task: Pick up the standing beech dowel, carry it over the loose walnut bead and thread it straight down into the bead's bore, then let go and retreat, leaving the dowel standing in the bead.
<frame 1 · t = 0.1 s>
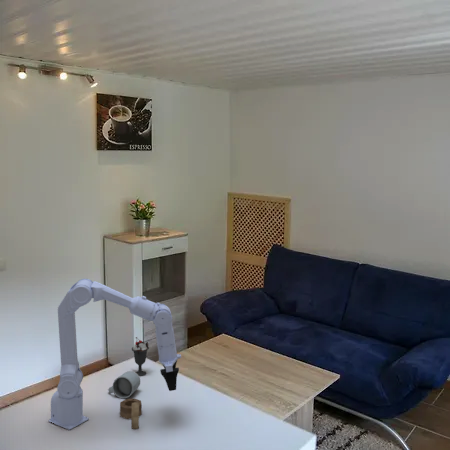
hand: (172, 384, 153), 10 cm above the table, tool pointing down, fingers open, 7 cm apart
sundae: (139, 374, 188), on the table
bead: (130, 413, 155), on the table
dowel: (135, 427, 146), on the table
ceramic mug: (123, 394, 170), on the table
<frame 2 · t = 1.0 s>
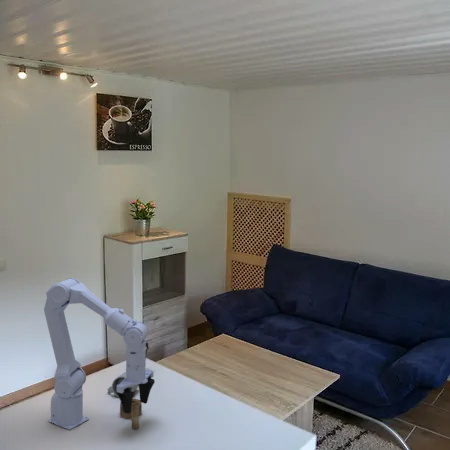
hand: (135, 407, 146), 6 cm above the table, tool pointing down, fingers open, 7 cm apart
nothing on the table moved.
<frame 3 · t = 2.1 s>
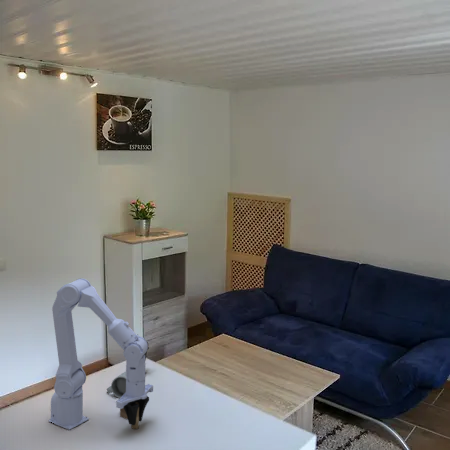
hand: (135, 422, 146), 2 cm above the table, tool pointing down, fingers closed on dowel, 2 cm apart
dowel: (135, 427, 146), on the table, touching gripper
everything else where it was.
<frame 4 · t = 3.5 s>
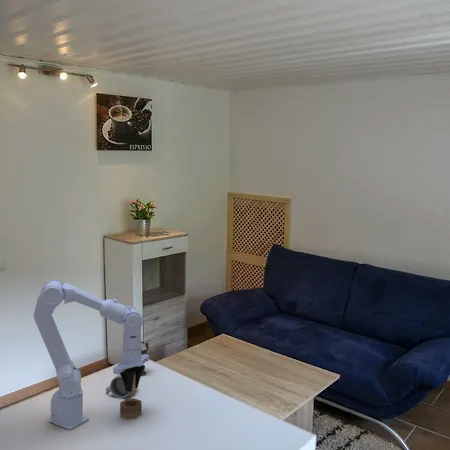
hand: (131, 389, 153), 9 cm above the table, tool pointing down, fingers closed on dowel, 2 cm apart
dowel: (131, 394, 153), point 7 cm above the table, touching gripper
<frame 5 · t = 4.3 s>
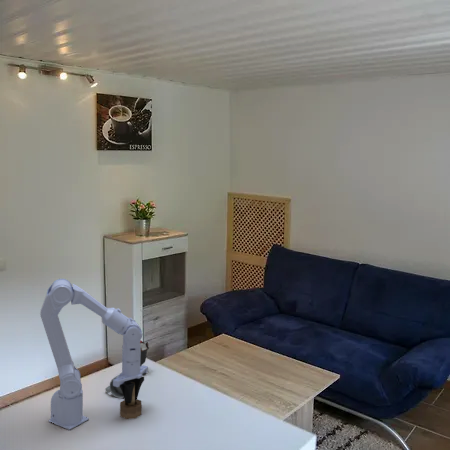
hand: (130, 400, 155), 4 cm above the table, tool pointing down, fingers closed on dowel, 2 cm apart
dowel: (131, 406, 155), point 3 cm above the table, touching gripper
when the fingers open (4 cm above the table, at t = 4.6 s): dowel drops 2 cm, resting in bead.
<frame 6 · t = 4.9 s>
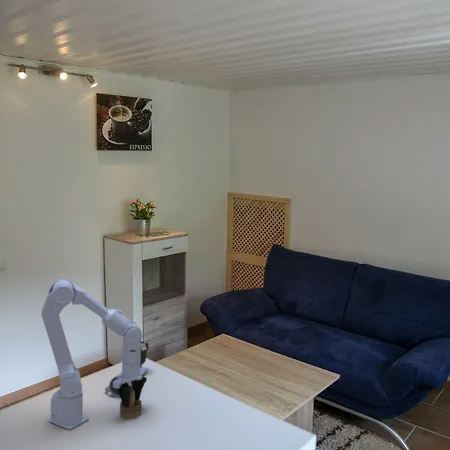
hand: (130, 402, 155), 4 cm above the table, tool pointing down, fingers open, 5 cm apart
dowel: (131, 413, 155), resting in bead
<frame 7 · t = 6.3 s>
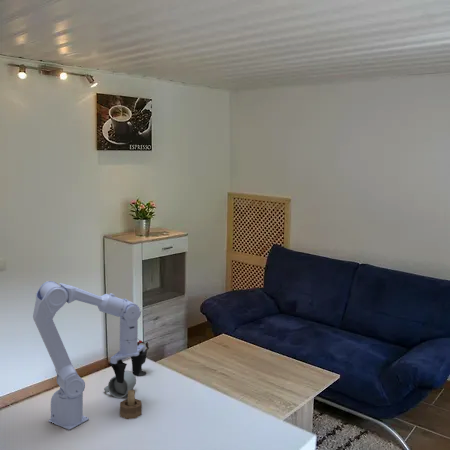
hand: (128, 378, 158), 10 cm above the table, tool pointing down, fingers open, 7 cm apart
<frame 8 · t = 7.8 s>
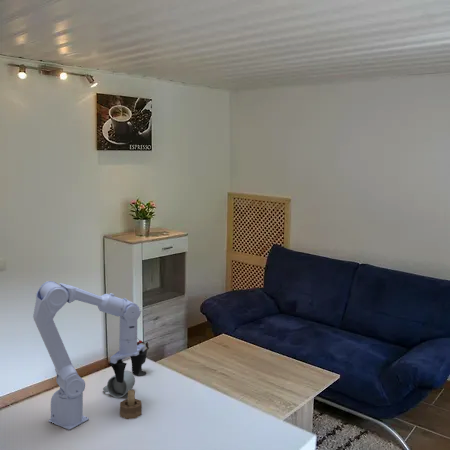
hand: (127, 378, 159), 10 cm above the table, tool pointing down, fingers open, 7 cm apart
at the end: dowel 0.1 cm from the bead (horizontally); dowel resting in bead; the gripper is holding nothing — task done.
